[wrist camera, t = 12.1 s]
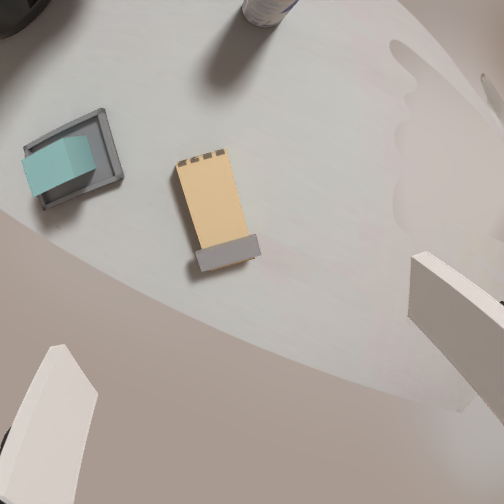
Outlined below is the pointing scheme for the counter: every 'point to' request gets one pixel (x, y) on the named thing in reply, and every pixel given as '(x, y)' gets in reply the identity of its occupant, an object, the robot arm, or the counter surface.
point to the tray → (101, 152)
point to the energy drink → (266, 11)
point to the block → (58, 163)
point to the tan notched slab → (216, 211)
